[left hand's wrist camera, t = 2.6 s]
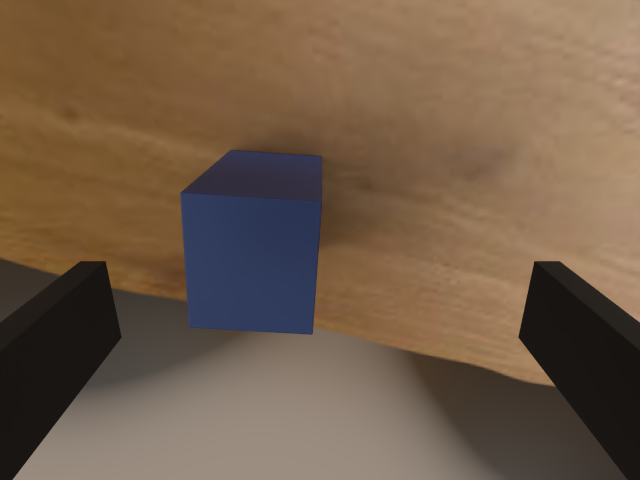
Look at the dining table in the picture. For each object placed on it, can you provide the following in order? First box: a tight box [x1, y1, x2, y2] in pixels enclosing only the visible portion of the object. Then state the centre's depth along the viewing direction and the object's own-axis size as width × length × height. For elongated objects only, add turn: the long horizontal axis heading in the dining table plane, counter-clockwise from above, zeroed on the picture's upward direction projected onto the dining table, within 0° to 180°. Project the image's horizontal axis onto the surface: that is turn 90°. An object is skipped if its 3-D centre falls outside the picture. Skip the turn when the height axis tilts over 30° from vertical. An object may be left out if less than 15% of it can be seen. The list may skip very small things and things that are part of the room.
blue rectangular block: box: [180, 150, 322, 334], centre depth 22 cm, size 6×6×10 cm
